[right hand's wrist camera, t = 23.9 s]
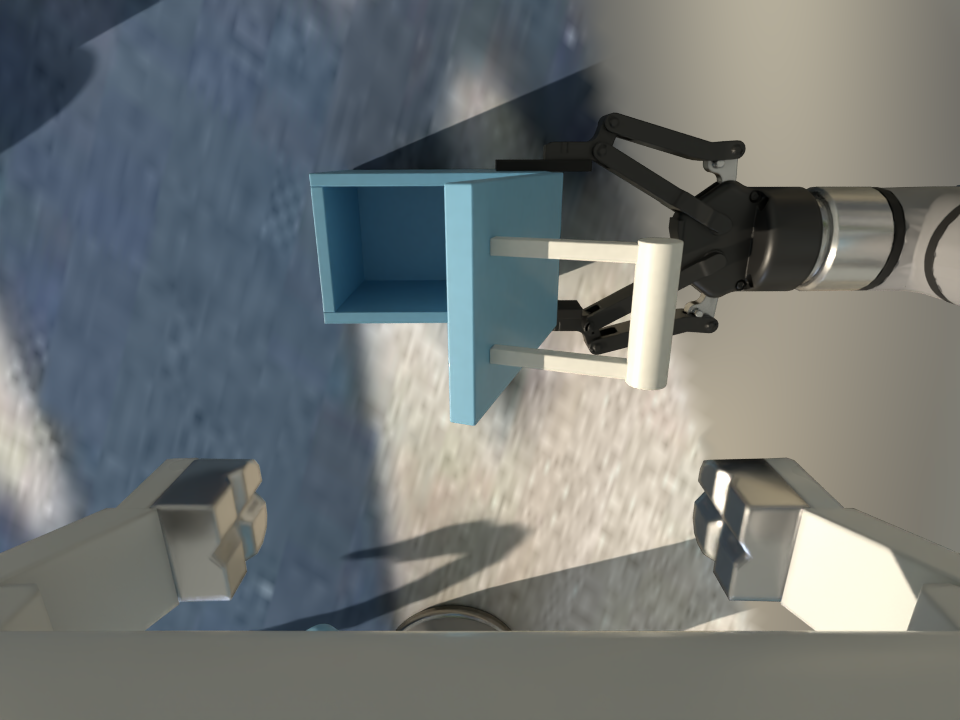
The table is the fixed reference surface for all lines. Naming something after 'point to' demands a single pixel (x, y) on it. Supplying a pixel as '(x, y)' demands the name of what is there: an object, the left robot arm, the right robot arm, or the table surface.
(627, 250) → the lid
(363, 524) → the table surface
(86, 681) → the right robot arm
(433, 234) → the chest
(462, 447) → the table surface
